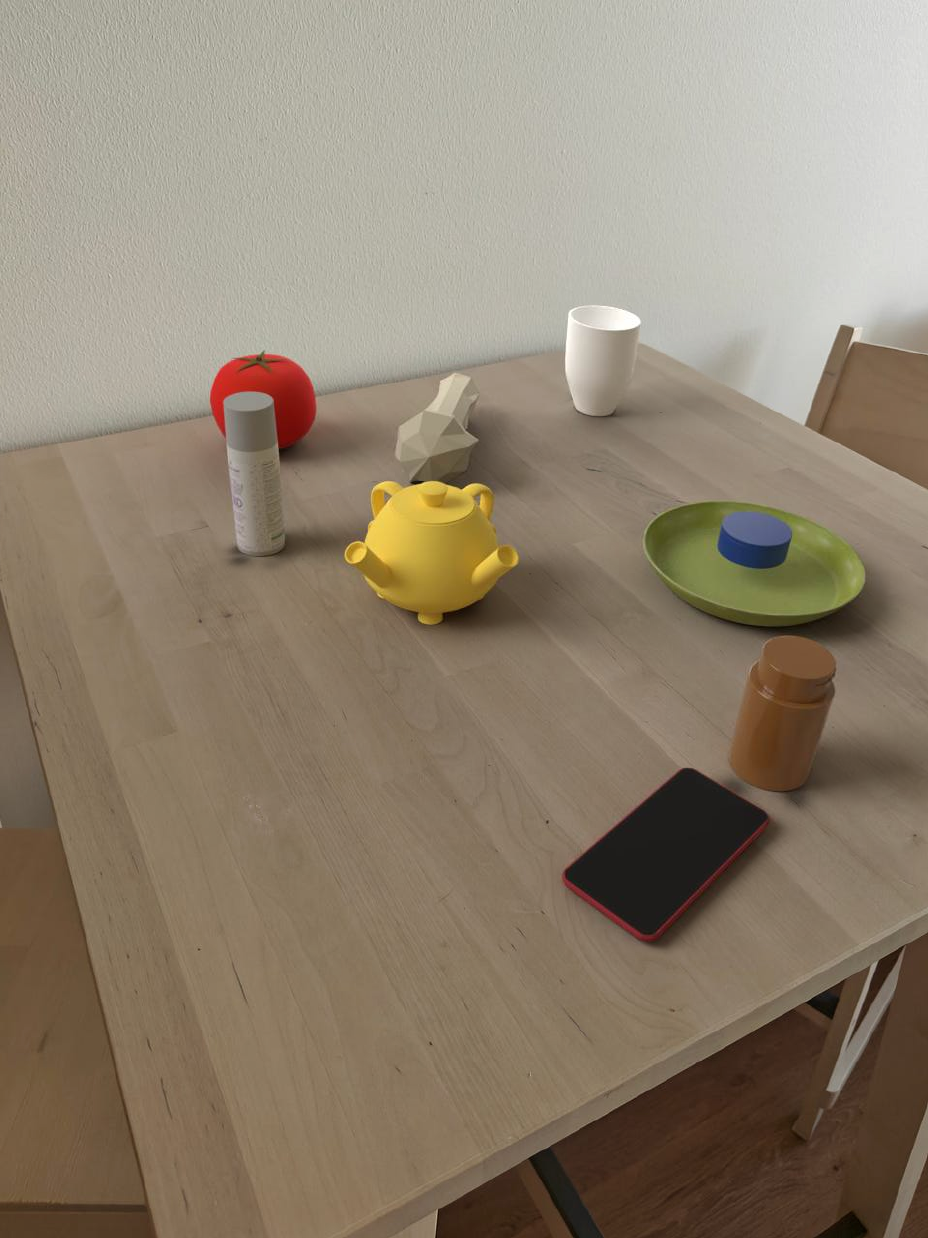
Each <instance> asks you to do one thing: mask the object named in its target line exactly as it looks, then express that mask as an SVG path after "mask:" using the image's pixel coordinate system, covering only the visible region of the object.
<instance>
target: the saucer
mask: <svg viewBox="0 0 928 1238" xmlns="http://www.w3.org/2000/svg"><path fill="white" fill-rule="evenodd" d="M742 511H752V512H760V513H764V514H768V515H771V516H774V517H776V518H778V519H780V520H782V521H783V522H785V523H786V524H787V525H788V526H789V527H790V529H791V531H792V538H791V542H790V546H789V549H788V553H787V557H786V560H785V561H784V562H783V563H782V564H781V565H779V566H777V567H773V568H767V569H756V568H749V567H744V566H741V565H738V564H735V563H733V562H731V561H729V560H728V559H726V558H725V557H723V556H722V555H721V553H720V552H719V550H718V548H717V544H718V539H719V535H720V530H721V525H722V521H723V519H724V518H725V517H726V516H727V515H729V514H732V513H735V512H742ZM642 544H643V545H642V546H643V550H644V553H645V555H646V558H647V560H648V562H649V564H650V566H651V567H652V569H653V571H654V573H656V575H657V576H658V578H659V579H660V580H661V581H662V583H664V585H665V586H667V588H668V589H669V590H670V591H672V593H674V594H675V595H677V597H679V598H680V599H681V600H683V601H684V602H686V603H688V604H689V605H691V606H692V607H694V608H696V609H699V610H701V611H702V612H705V613H707V614H709V615H712V616H714V617H717V618H720V619H723V620H726V621H731V622H734V623H738V624H744V625H750V626H756V627H790V626H798V625H801V624H806V623H811V622H813V621H817V620H819V619H823V618H825V617H827V616H830V615H832V614H834V613H835V612H837V611H839V610H841V609H843V607H845V606H847V605H848V604H850V603H851V602H852V601H853V600H854V599H855V598H856V597H857V596H859V594H860V593H861V592H862V589H863V588H864V585H865V583H866V569H865V566H864V564H863V561H862V560H861V557H859V555H858V554H857V552H856V551H855V550H854V548H853V547H852V546H851V545H849V543H848V542H847V541H846V540H844V539H843V538H842V537H840V536H839V535H838V534H836V533H835V532H833V531H832V530H830V529H829V528H827V527H825V526H823V525H822V524H820V523H817V522H815V521H813V520H811V519H809V518H807V517H804V516H802V515H799V514H796V513H793V512H790V511H786V510H783V509H780V508H776V507H772V506H768V505H764V504H759V503H752V502H745V501H736V500H735V501H733V500H707V501H698V502H690V503H687V504H686V503H685V504H682V505H678V506H675V507H672V508H669V509H667V510H665V511H663V512H661V513H660V514H658V515H657V516H655V517H654V518H653V519H652V520H651V521H650V522H649V523H648V525H647V526H646V527H645V530H644V532H643V537H642Z"/></svg>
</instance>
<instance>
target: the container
mask: <svg viewBox="0 0 928 1238" xmlns="http://www.w3.org/2000/svg"><path fill="white" fill-rule="evenodd" d="M223 404H224V417H225V429H226V438H225V442H226V454H227V463H228V474H229V482H230V491H231V500H232V501H231V502H232V511H233V519H234V528H235V539H236V545H237V549H238V550H239V551H240V552H241V553H243V554H244V555H247V556H251V557H267V556H271V555H274V554H277V553H280V551H282V550H283V549H284V548H285V545H286V532H285V521H284V519H285V518H284V507H283V494H282V492H283V491H282V477H281V466H280V464H281V463H280V452H279V450H280V449H278V441H277V431H276V421H275V411H274V402H273V398H272V397H271V396H269V395H267V394H265V393H261V392H240V393H235V394H232V395H230V396H228V397H226V398H225V400H224V402H223Z"/></svg>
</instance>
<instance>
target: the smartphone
mask: <svg viewBox="0 0 928 1238" xmlns="http://www.w3.org/2000/svg"><path fill="white" fill-rule="evenodd" d="M769 824H770V816H769V813H767V811H766V810H764V809H763V808H761V807H760V806H758V805H757V804H754V803H753V802H751V801H749V800H748V799H747V798H745V797H743V796H741V795H739V794H738V793H736V792H734V791H733V790H731V789H730V788H728V787H726V786H724V785H722V784H721V783H719V782H718V781H716V780H714V779H712V778H710V777H709V776H707V775H705V774H704V773H702V772H700V771H699V770H698V769H695V768H693V767H682V768H680V769H678V770H677V771H676V772H675V773H674V774H673V775H672V776H670V777H669V778H668V779H667V780H666V781H664V783H662V784H661V785H660V786H659V787H658V788H657V789H655V790H654V791H653V792H652V793H651V794H649V796H647V797H646V798H645V799H644V800H642V801H641V803H639V804H638V805H637V806H635V808H634V809H632V810H631V811H630V812H629V813H628V814H626V816H624V817H623V818H621V820H620V821H618V822H617V823H616V824H615V825H614V826H613V827H611V828H610V829H609V830H608V831H607V832H606V833H604V834H603V835H601V837H600V838H599V839H597V841H595V842H594V843H593V844H592V845H591V846H589V847H588V848H587V849H586V850H585V851H584V852H582V853H581V854H580V855H579V856H578V857H577V858H575V859H574V860H573V861H572V862H571V863H570V864H568V866H567V867H565V868H564V869H563V871H562V874H561V880H562V883H563V885H564V886H565V887H566V888H567V889H568V890H570V891H571V892H572V893H574V894H575V895H577V896H578V897H580V898H581V899H582V900H584V901H585V902H586V903H588V904H589V905H590V906H592V907H593V908H594V909H596V910H597V911H598V912H600V913H601V914H603V915H604V916H606V917H607V918H608V919H609V920H611V921H612V922H614V923H615V924H616V925H618V926H619V927H621V928H622V929H623V930H625V931H626V932H627V933H629V934H630V935H631V936H632V937H634V938H636V939H637V940H638V941H641V942H644V943H650V942H653V941H655V940H657V939H658V938H659V937H660V936H661V935H662V934H663V933H664V932H665V931H666V930H667V929H668V928H669V926H671V925H672V924H673V923H674V921H675V920H677V918H679V917H680V915H682V913H683V912H684V911H686V909H687V908H688V907H690V905H691V904H693V902H694V901H695V900H696V899H697V898H698V897H699V896H700V895H701V894H702V893H703V892H704V891H705V890H706V889H707V888H708V887H709V886H710V885H711V884H712V883H713V882H714V881H715V880H716V879H717V878H718V877H719V876H720V875H721V874H722V873H723V872H724V871H725V870H726V869H727V868H728V867H729V866H730V865H731V864H732V862H734V861H735V859H737V858H738V857H739V855H740V854H742V853H743V852H744V850H746V849H747V847H748V846H749V845H751V843H752V842H753V841H754V840H756V838H757V837H758V836H759V835H760V834H761V833H762V832H763V831H764V830H765V829H766V828H767V827H768V826H769Z"/></svg>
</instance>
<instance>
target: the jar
mask: <svg viewBox="0 0 928 1238" xmlns="http://www.w3.org/2000/svg"><path fill="white" fill-rule="evenodd" d="M836 667H837V662H836V659H835V657H834V655H833V654H832V652H831V651H830V650H829V649H828V648H826V647H825V646H823V644H821V643H819V642H817V641H815V640H812V639H809V638H806V637H802V636H796V635H781V636H775V637H771V638H769V639H768V640H766V641H765V643H764V644H763V646H762V650H761V653H760V656H759V660H756V662H754V663H753V664H752V665H751V667H750V668H749V671H748V675H747V679H746V682H745V686H744V689H743V693H742V697H741V702H740V706H739V709H738V714H737V718H736V721H735V724H734V729H733V733H732V737H731V741H730V744H729V745H730V746H729V748H728V749H729V750H728V754H727V759H728V764H729V765H730V767H731V769H732V771H733V772H734V773H735V774H736V775H737V776H738V777H739V778H741V780H742V781H744V782H746V783H748V784H749V785H752V786H754V787H756V788H758V789H761V790H765V791H770V792H788V791H793V790H796V789H798V788H800V787H801V786H802V785H804V784H805V783H806V782H807V780H808V779H809V776H810V773H811V770H812V766H813V763H814V761H815V757H816V754H817V751H818V749H819V745H820V742H821V740H822V735H823V733H824V729H825V727H826V723H827V720H828V718H829V714H830V712H831V708H832V705H833V702H834V698H835V695H836V687H835V683H834V681H833V680H834V679H835V677H836V672H837V668H836Z"/></svg>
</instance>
